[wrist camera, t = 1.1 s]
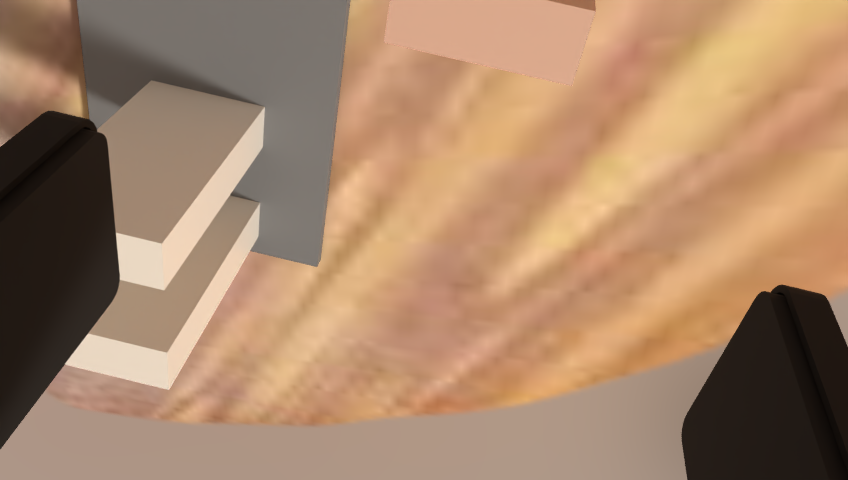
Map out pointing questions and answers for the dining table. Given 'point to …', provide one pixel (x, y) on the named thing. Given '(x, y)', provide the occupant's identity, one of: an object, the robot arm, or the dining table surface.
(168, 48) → the mat
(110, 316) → the domino
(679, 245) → the dining table surface
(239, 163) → the domino
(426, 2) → the domino
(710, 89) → the dining table surface
